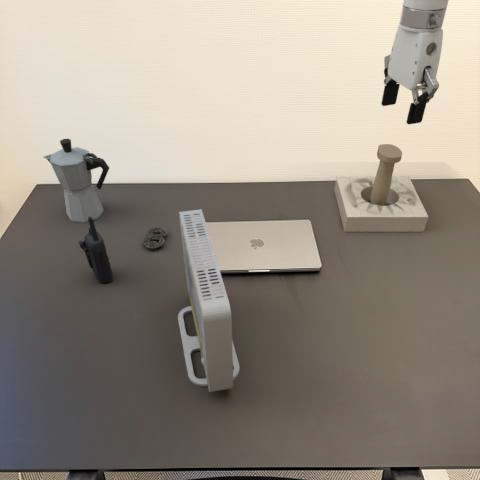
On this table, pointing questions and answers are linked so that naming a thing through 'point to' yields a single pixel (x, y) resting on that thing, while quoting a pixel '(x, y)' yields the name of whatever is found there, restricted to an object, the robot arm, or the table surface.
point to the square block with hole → (379, 217)
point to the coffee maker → (78, 180)
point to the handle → (384, 173)
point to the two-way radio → (96, 254)
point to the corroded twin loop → (155, 237)
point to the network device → (206, 307)
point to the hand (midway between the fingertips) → (400, 113)
